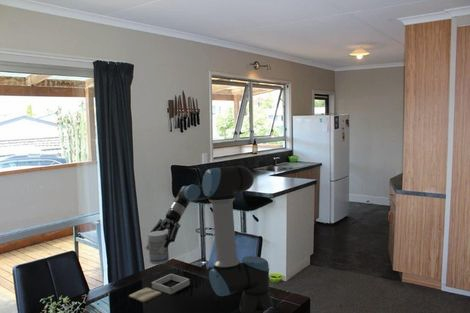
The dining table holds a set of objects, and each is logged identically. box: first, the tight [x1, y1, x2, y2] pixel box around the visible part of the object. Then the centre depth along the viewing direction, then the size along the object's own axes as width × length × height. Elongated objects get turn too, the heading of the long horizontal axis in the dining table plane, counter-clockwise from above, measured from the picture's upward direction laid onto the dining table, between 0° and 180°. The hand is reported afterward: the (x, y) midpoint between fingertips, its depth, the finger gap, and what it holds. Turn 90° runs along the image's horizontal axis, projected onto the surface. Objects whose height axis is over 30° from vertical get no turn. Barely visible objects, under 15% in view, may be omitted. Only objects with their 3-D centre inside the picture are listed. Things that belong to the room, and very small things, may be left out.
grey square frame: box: [151, 273, 191, 295], centre depth 205 cm, size 14×14×3 cm
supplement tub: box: [147, 230, 170, 265], centre depth 200 cm, size 10×10×15 cm
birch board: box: [128, 287, 162, 303], centre depth 195 cm, size 11×11×1 cm
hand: (153, 251), depth 198 cm, fingers closed on supplement tub, 9 cm apart
